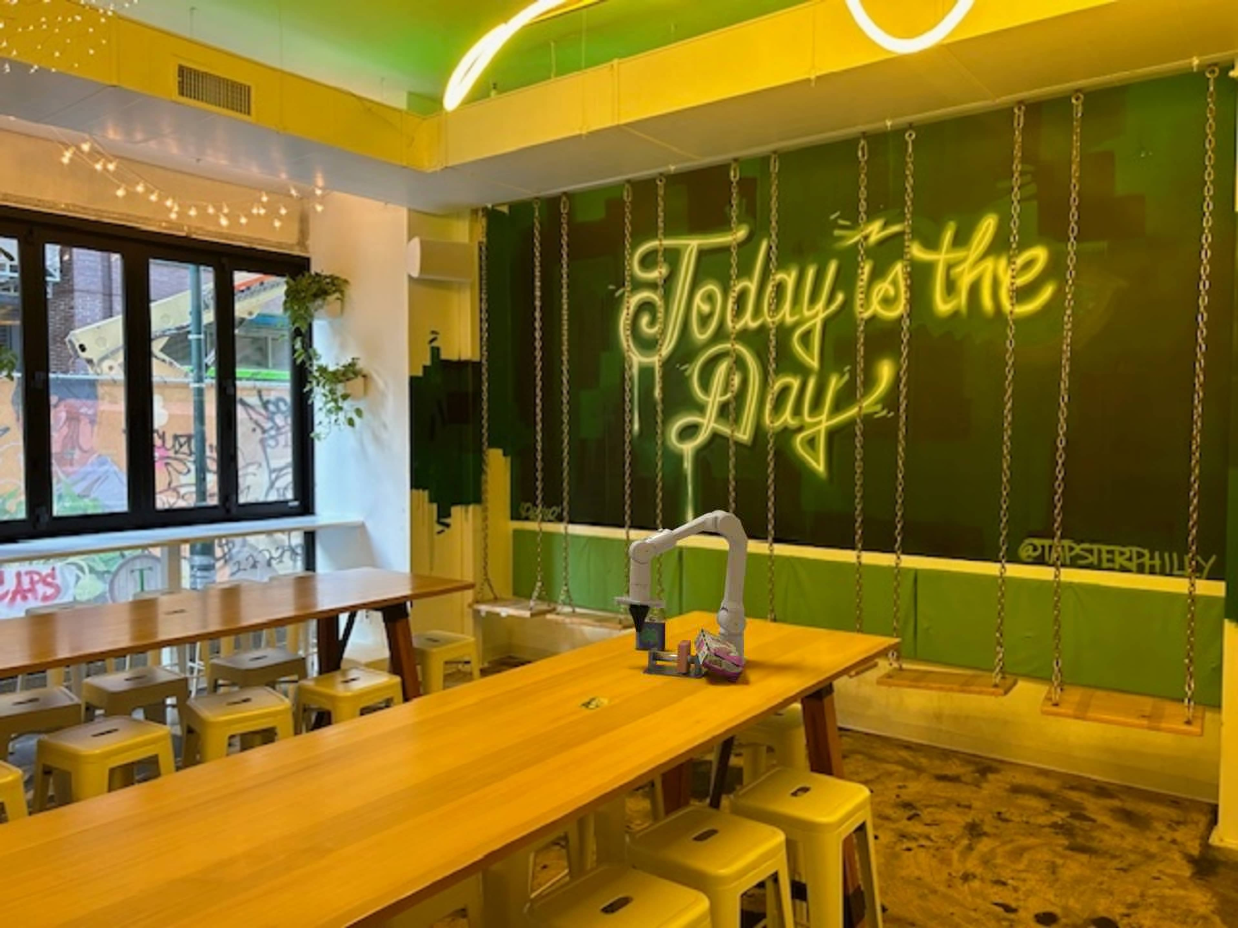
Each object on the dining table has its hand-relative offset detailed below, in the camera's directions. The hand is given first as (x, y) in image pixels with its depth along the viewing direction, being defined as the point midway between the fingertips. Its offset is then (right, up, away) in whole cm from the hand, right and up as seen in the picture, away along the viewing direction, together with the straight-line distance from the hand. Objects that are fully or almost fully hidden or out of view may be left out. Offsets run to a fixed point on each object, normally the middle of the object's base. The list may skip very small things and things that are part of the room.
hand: (639, 631), depth 262 cm
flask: (+4, -10, +21) cm, 23 cm away
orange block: (+12, -10, -5) cm, 17 cm away
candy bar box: (+22, -7, -16) cm, 28 cm away
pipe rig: (+10, -10, -4) cm, 15 cm away
